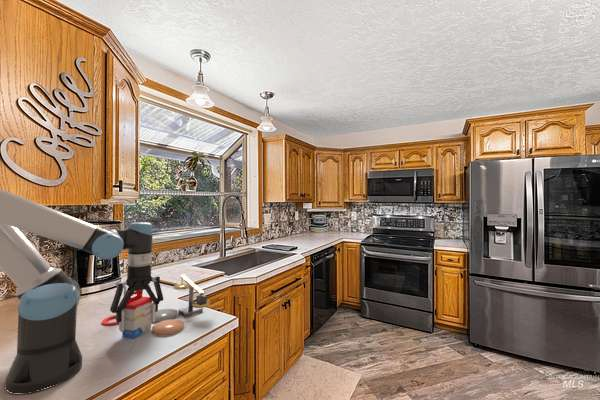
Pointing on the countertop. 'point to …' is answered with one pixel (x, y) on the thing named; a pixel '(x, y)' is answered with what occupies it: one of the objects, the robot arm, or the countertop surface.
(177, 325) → the dish low
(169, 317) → the dish high
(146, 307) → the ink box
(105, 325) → the tow hook
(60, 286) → the robot arm
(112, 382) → the countertop surface
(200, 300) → the balance
